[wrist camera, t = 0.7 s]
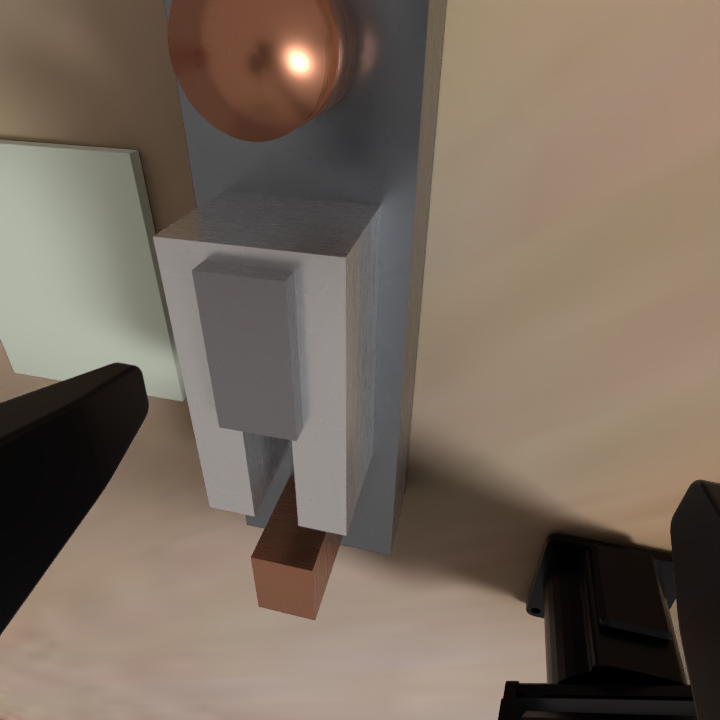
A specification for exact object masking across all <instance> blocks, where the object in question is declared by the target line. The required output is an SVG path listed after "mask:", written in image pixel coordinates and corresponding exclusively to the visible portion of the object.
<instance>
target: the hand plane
mask: <svg viewBox="0 0 720 720" xmlns="http://www.w3.org/2000/svg"><path fill="white" fill-rule="evenodd" d="M164 3H165V9H166V16H167V22H168V43H169V52H170V56H171V61H172V65H173V68H174V71H175V74H176V79H177V85H178V91H179V98H180V104H181V110H182V117H183V123H184V129H185V136H186V142H187V148H188V155H189V161H190V167H191V174H192V180H193V186H194V193H195V199H196V205H197V208H198V207H199V206H201V205H202V204H204V203H205V202H207V201H208V200H210V199H212V198H213V197H215V196H216V195H218V194H219V193H221V192H222V191H229V192H241V193H252V194H263V195H274V196H286V197H297V198H308V199H319V200H330V201H342V202H353V203H364V204H375V205H381V215H380V244H379V274H378V303H377V332H376V362H375V391H374V420H373V450H372V457H371V461H370V464H369V467H368V470H367V473H366V476H365V479H364V482H363V486H362V489H361V492H360V495H359V498H358V501H357V504H356V507H355V511H354V514H353V517H352V520H351V523H350V526H349V529H348V532H347V536H344V535H340V534H335V533H330V532H325V531H321V530H316V529H311V528H306V527H302V526H298V514H297V502H296V489H295V476H294V463H293V450H292V444H291V446H290V448H289V450H288V452H287V454H286V456H285V458H284V460H283V462H282V464H281V466H280V468H279V470H278V472H277V474H276V476H275V478H274V480H273V482H272V484H271V486H270V488H269V490H268V492H267V493H266V495H265V497H264V499H263V501H262V503H261V505H260V507H259V509H258V511H257V513H256V515H255V517H254V516H249V515H246V521H247V525H251V526H256V527H260V528H265V529H264V531H263V533H262V535H261V537H260V539H259V542H258V544H257V546H256V548H255V550H254V552H253V554H252V556H251V561H252V567H253V573H254V580H255V586H256V592H257V598H258V605H259V607H262V608H267V609H271V610H275V611H279V612H283V613H287V614H291V615H295V616H299V617H303V618H308V619H312V620H315V619H316V616H317V613H318V610H319V607H320V604H321V601H322V598H323V595H324V592H325V589H326V586H327V583H328V579H329V576H330V573H331V570H332V567H333V564H334V561H335V558H336V555H337V552H338V549H339V546H340V545H345V546H349V547H354V548H359V549H363V550H368V551H373V552H377V553H382V554H387V555H391V551H392V547H393V542H394V538H395V534H396V529H397V525H398V520H399V516H400V512H401V507H402V503H403V499H404V494H405V489H406V477H407V465H408V453H409V441H410V430H411V418H412V406H413V394H414V383H415V371H416V359H417V347H418V335H419V324H420V312H421V300H422V288H423V277H424V265H425V253H426V241H427V229H428V218H429V206H430V194H431V182H432V171H433V159H434V147H435V135H436V124H437V112H438V100H439V88H440V76H441V65H442V53H443V41H444V29H445V18H446V6H447V0H164Z"/></svg>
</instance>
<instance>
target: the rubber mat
mask: <svg viewBox="0 0 720 720" xmlns="http://www.w3.org/2000/svg"><path fill="white" fill-rule="evenodd" d="M154 235H156V233H155V228H154V224H153V219H152V214H151V209H150V204H149V199H148V195H147V190H146V185H145V180H144V175H143V171H142V166H141V161H140V156H139V151H138V150H131V149H118V148H105V147H91V146H78V145H65V144H52V143H39V142H26V141H12V140H0V339H1V341H2V344H3V346H4V349H5V351H6V353H7V356H8V358H9V360H10V363H11V365H12V367H13V370H14V372H15V373H19V374H25V375H31V376H37V377H43V378H49V379H54V380H60V381H64V380H67V379H70V378H72V377H75V376H78V375H81V374H84V373H87V372H89V371H92V370H95V369H98V368H101V367H104V366H106V365H109V364H112V363H116V362H119V363H125V364H130V365H135V366H137V367H139V368H140V369H141V371H142V373H143V378H144V383H145V388H146V392H147V396H153V397H159V398H165V399H171V400H177V401H182V402H183V401H184V400H185V399H186V392H185V387H184V382H183V378H182V373H181V368H180V363H179V359H178V354H177V349H176V344H175V340H174V335H173V330H172V325H171V321H170V316H169V311H168V306H167V302H166V297H165V292H164V287H163V283H162V278H161V273H160V268H159V264H158V259H157V254H156V249H155V245H154V240H153V236H154Z"/></svg>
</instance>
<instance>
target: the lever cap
mask: <svg viewBox="0 0 720 720" xmlns="http://www.w3.org/2000/svg"><path fill="white" fill-rule="evenodd" d="M380 215H381V205H375V204H364V203H353V202H342V201H330V200H319V199H308V198H297V197H286V196H274V195H263V194H252V193H241V192H229V191H222V192H221V193H219V194H218V195H216V196H215V197H213V198H212V199H210V200H208V201H207V202H205V203H204V204H202V205H201V206H199V207H198V208H196V209H195V210H193V211H192V212H190V213H188V214H187V215H185V216H184V217H182V218H181V219H179V220H178V221H176V222H175V223H173V224H171V225H170V226H168V227H167V228H165V229H164V230H162V231H161V232H159V233H158V234H156V235H154V236H153V240H154V245H155V249H156V254H157V259H158V264H159V268H160V273H161V278H162V283H163V287H164V292H165V297H166V302H167V306H168V311H169V316H170V321H171V325H172V330H173V335H174V340H175V344H176V349H177V354H178V359H179V363H180V368H181V373H182V378H183V382H184V387H185V392H186V397H187V401H188V406H189V411H190V416H191V420H192V425H193V430H194V434H195V439H196V444H197V449H198V453H199V458H200V463H201V468H202V472H203V477H204V482H205V487H206V491H207V496H208V501H209V506H210V507H211V508H216V509H221V510H226V511H230V512H235V513H240V514H245V515H249V516H254V517H255V515H256V513H257V511H258V509H259V507H260V505H261V503H262V501H263V499H264V497H265V495H266V493H267V492H268V490H269V488H270V486H271V484H272V482H273V480H274V478H275V476H276V474H277V472H278V470H279V468H280V466H281V464H282V462H283V460H284V458H285V456H286V454H287V452H288V450H289V448H290V446H291V444H292V450H293V463H294V476H295V489H296V502H297V514H298V526H302V527H306V528H311V529H316V530H321V531H325V532H330V533H335V534H340V535H344V536H347V532H348V529H349V526H350V523H351V520H352V517H353V514H354V511H355V507H356V504H357V501H358V498H359V495H360V492H361V489H362V486H363V482H364V479H365V476H366V473H367V470H368V467H369V464H370V461H371V457H372V450H373V420H374V391H375V362H376V332H377V303H378V274H379V244H380Z"/></svg>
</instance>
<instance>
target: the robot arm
mask: <svg viewBox="0 0 720 720" xmlns="http://www.w3.org/2000/svg"><path fill="white" fill-rule="evenodd" d="M148 408H149V402H148V397H147V392H146V388H145V383H144V378H143V373H142V371H141V369H140V368H139V367H137V366H135V365H130V364H125V363H119V362H116V363H112V364H109V365H106V366H104V367H101V368H98V369H95V370H92V371H89V372H87V373H84V374H81V375H78V376H75V377H72V378H70V379H67V380H64V381H61V382H58V383H56V384H53V385H50V386H47V387H44V388H41V389H39V390H36V391H33V392H30V393H27V394H24V395H22V396H19V397H16V398H13V399H10V400H8V401H5V402H2V403H0V635H1V634H2V632H3V631H4V630H5V628H6V627H7V625H8V624H9V623H10V621H11V620H12V618H13V617H14V616H15V614H16V613H17V611H18V610H19V609H20V607H21V606H22V604H23V603H24V602H25V600H26V599H27V597H28V596H29V595H30V593H31V592H32V590H33V589H34V588H35V586H36V585H37V583H38V582H39V581H40V579H41V578H42V576H43V575H44V574H45V572H46V571H47V569H48V568H49V567H50V565H51V564H52V562H53V561H54V560H55V558H56V557H57V555H58V554H59V553H60V551H61V550H62V548H63V547H64V546H65V544H66V543H67V541H68V540H69V538H70V537H71V536H72V534H73V533H74V531H75V530H76V529H77V527H78V526H79V524H80V523H81V522H82V520H83V519H84V517H85V516H86V515H87V513H88V512H89V510H90V509H91V508H92V506H93V505H94V503H95V502H96V501H97V499H98V498H99V496H100V495H101V493H102V492H103V490H104V489H105V487H106V486H107V484H108V482H109V481H110V479H111V478H112V476H113V474H114V472H115V471H116V469H117V467H118V465H119V464H120V462H121V460H122V458H123V457H124V455H125V453H126V451H127V450H128V448H129V446H130V444H131V443H132V441H133V439H134V437H135V435H136V434H137V432H138V430H139V428H140V427H141V425H142V423H143V421H144V420H145V418H146V416H147V413H148ZM670 534H671V545H672V556H671V555H665V554H660V553H655V552H650V551H645V550H640V549H635V548H629V547H624V546H619V545H614V544H609V543H604V542H599V541H594V540H588V539H583V538H578V537H573V536H568V535H563V534H551V535H549V536H548V537H547V539H546V542H545V545H544V548H543V551H542V554H541V558H540V561H539V564H538V567H537V570H536V573H535V576H534V580H533V583H532V586H531V589H530V592H529V595H528V598H527V602H526V611H527V612H528V613H529V614H530V615H533V616H536V617H541V618H544V621H545V644H546V667H547V683H519V681H506V684H505V690H504V696H503V698H502V699H501V705H500V711H499V717H498V720H720V483H715V482H710V481H705V480H696V481H694V482H693V483H692V484H691V485H690V486H689V488H688V490H687V492H686V494H685V495H684V497H683V499H682V501H681V502H680V504H679V506H678V508H677V510H676V511H675V513H674V515H673V517H672V521H671V527H670ZM556 543H557V544H556ZM675 599H676V601H677V613H678V621H679V630H680V635H681V640H682V646H683V651H684V656H685V660H686V665H687V670H688V675H689V679H690V684H691V685H688V684H687V680H686V676H685V672H684V668H683V664H682V660H681V656H680V652H679V648H678V644H677V640H676V636H675V632H674V628H673V624H672V620H671V616H670V612H669V609H670V608H671V606H672V604H673V602H674V601H675Z"/></svg>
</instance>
